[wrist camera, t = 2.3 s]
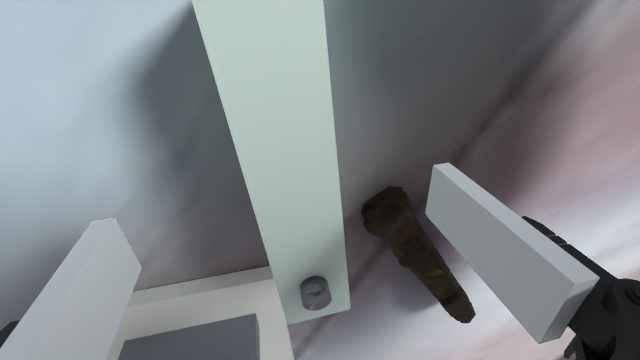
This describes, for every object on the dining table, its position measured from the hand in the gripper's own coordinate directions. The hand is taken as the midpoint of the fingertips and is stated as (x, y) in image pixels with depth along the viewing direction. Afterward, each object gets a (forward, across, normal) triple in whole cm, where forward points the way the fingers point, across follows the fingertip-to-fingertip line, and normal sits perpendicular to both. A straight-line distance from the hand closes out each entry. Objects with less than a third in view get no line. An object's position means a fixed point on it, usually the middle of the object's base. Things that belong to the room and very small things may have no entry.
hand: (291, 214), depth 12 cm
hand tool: (+9, +13, -14) cm, 21 cm away
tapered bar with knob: (+9, +1, 0) cm, 9 cm away
